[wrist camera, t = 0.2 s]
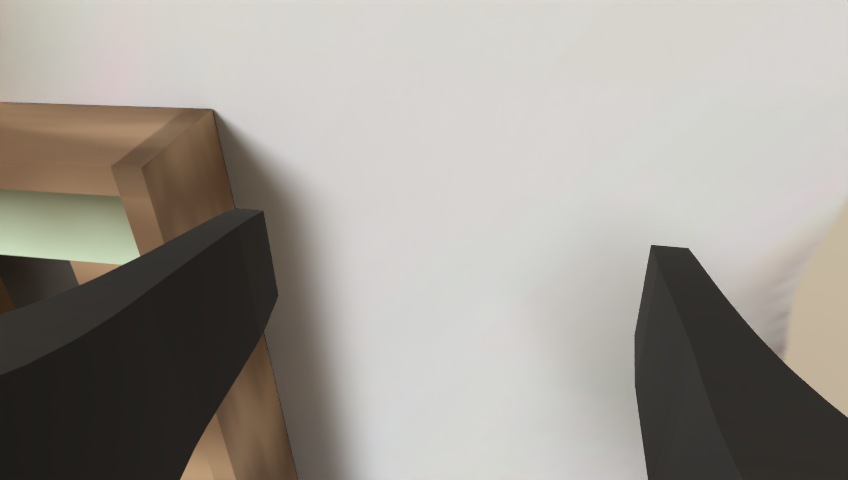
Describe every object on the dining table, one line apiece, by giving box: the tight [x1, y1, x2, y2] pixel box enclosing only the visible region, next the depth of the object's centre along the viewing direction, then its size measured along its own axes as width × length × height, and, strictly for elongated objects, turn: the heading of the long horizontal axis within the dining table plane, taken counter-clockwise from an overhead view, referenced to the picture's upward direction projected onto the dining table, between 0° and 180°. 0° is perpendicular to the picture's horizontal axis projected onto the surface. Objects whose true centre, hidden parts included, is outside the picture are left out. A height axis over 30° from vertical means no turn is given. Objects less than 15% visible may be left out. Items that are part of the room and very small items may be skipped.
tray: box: [0, 102, 298, 480], centre depth 32 cm, size 33×13×4 cm, turn 2°
